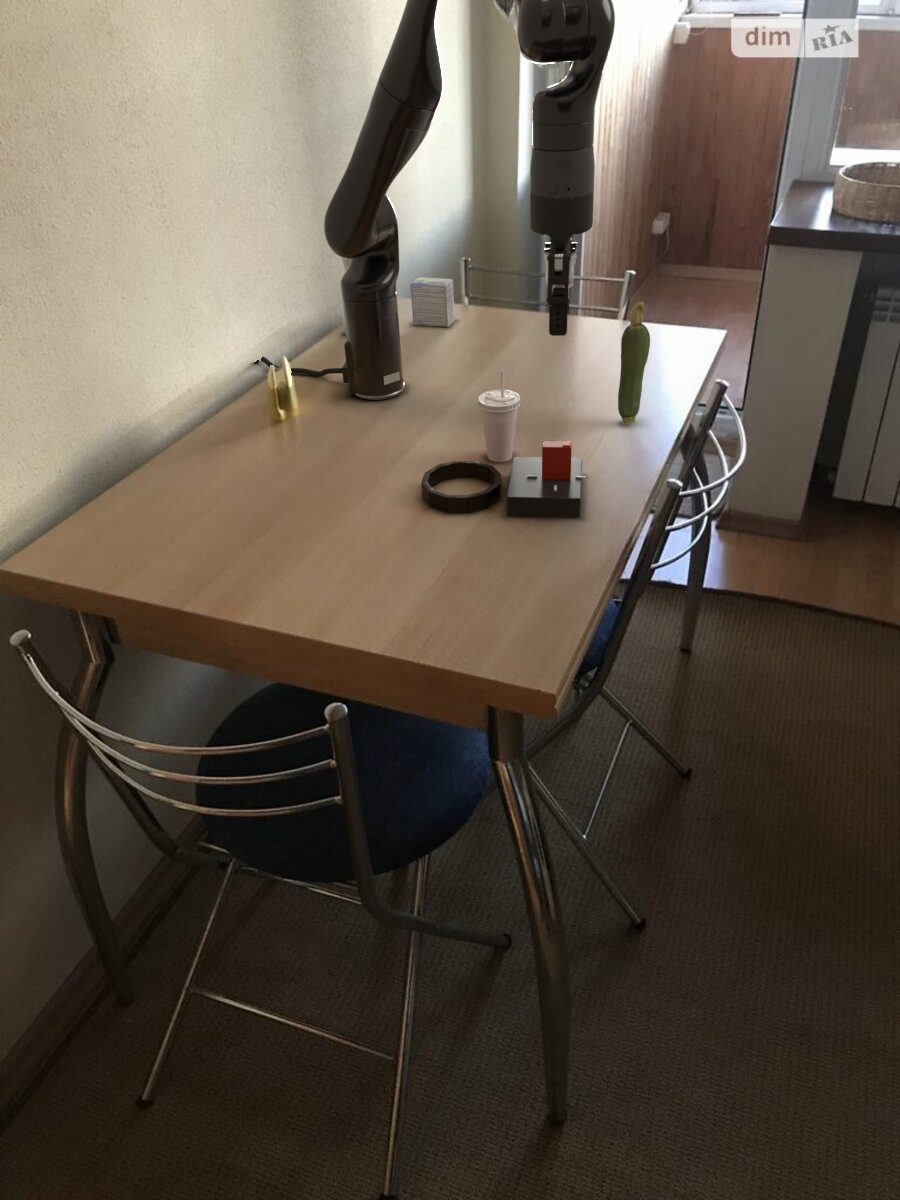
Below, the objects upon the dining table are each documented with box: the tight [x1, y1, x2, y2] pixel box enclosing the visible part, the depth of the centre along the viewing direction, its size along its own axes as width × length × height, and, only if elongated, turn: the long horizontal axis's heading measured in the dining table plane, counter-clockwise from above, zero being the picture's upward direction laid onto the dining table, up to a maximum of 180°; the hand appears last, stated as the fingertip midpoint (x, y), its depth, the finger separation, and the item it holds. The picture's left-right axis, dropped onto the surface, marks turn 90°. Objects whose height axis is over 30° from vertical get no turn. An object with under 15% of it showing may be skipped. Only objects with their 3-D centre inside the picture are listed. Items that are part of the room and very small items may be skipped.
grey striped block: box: [409, 277, 456, 328], centre depth 195 cm, size 8×4×9 cm, turn 71°
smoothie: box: [477, 368, 521, 463], centre depth 142 cm, size 6×6×14 cm
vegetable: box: [617, 300, 651, 426], centre depth 149 cm, size 4×4×20 cm
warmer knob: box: [541, 440, 573, 480], centre depth 132 cm, size 4×2×5 cm, turn 83°
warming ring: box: [420, 459, 503, 514], centre depth 137 cm, size 11×11×2 cm
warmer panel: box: [506, 456, 587, 518], centre depth 135 cm, size 11×12×3 cm
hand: (559, 322), depth 121 cm, fingers open, 8 cm apart
